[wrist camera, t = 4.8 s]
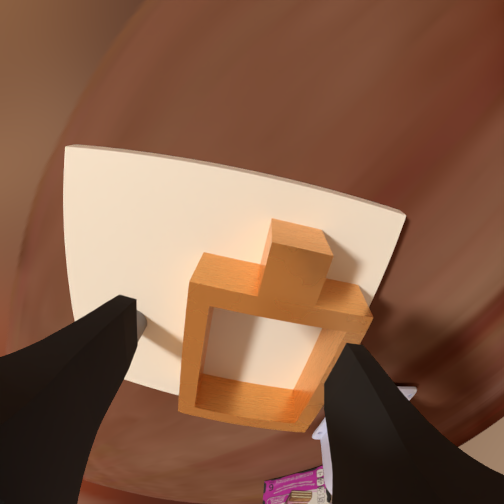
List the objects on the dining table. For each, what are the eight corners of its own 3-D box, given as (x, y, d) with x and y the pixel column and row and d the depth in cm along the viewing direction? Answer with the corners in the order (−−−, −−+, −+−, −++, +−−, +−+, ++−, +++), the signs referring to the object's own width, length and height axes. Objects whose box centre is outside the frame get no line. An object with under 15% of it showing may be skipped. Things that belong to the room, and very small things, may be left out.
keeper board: (306, 407, 25) (311, 469, 19) (89, 356, 25) (57, 407, 18) (398, 209, 17) (456, 256, 11) (75, 144, 16) (1, 163, 10)
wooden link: (302, 399, 23) (304, 432, 20) (187, 378, 23) (178, 411, 20) (374, 243, 17) (395, 270, 14) (211, 205, 17) (196, 225, 13)
